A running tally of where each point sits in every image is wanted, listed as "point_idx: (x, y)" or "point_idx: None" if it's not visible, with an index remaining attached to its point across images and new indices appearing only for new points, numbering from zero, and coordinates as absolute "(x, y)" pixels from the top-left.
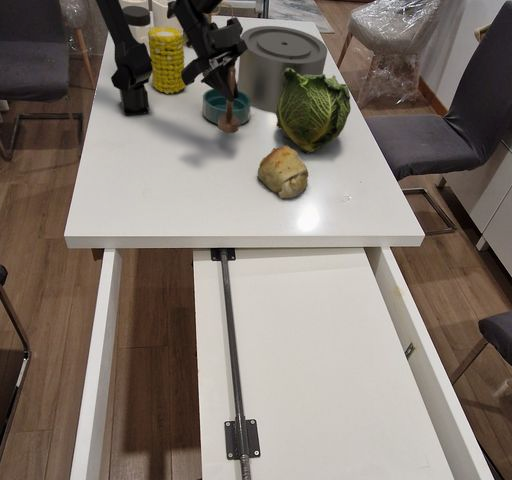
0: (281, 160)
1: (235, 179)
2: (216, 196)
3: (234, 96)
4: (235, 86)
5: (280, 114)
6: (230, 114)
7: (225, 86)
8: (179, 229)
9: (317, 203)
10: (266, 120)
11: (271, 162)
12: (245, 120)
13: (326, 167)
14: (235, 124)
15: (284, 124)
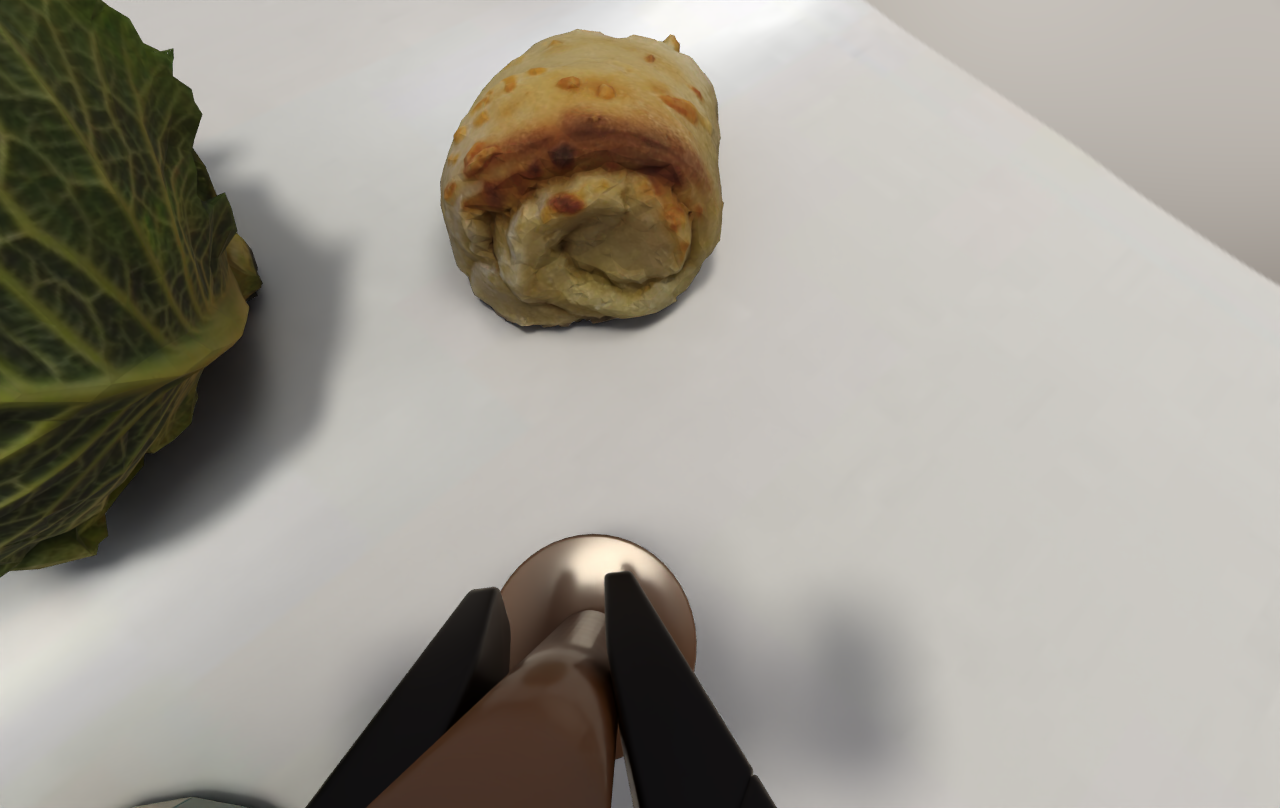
0: (652, 90)
1: (776, 383)
2: (965, 353)
3: (502, 662)
4: (432, 712)
5: (130, 373)
6: (603, 619)
7: (745, 769)
8: (1268, 305)
9: (607, 30)
10: (15, 716)
11: (696, 143)
12: (162, 805)
13: (305, 139)
14: (609, 535)
15: (200, 338)
